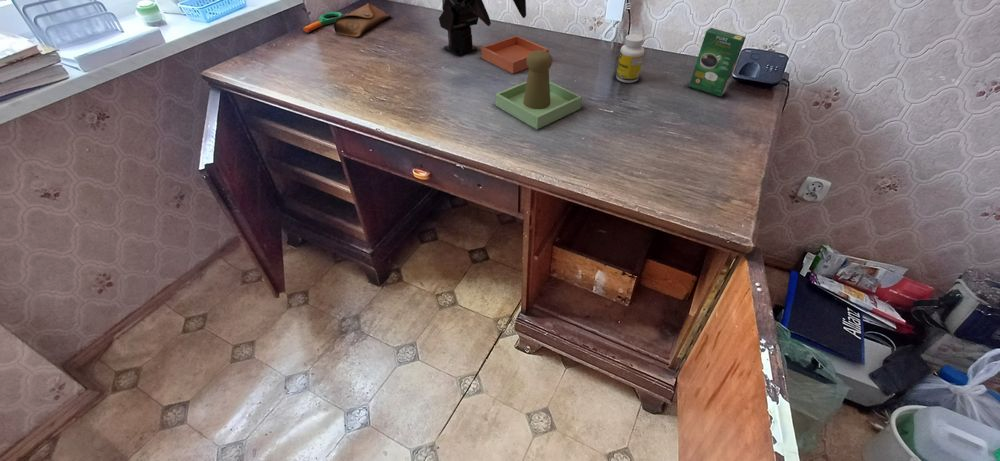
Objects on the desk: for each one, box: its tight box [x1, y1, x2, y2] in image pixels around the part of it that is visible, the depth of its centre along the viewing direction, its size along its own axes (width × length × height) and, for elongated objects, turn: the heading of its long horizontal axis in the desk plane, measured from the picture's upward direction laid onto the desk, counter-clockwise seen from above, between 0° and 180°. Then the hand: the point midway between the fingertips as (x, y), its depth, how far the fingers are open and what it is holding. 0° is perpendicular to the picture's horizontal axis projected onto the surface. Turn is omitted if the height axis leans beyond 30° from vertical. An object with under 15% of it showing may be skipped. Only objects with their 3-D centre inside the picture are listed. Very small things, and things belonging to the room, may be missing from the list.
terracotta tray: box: [480, 35, 550, 74], centre depth 120 cm, size 12×12×3 cm
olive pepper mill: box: [523, 50, 553, 109], centre depth 98 cm, size 6×6×11 cm
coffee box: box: [688, 27, 747, 98], centre depth 103 cm, size 8×3×13 cm, turn 50°
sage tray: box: [495, 80, 583, 130], centre depth 101 cm, size 13×13×3 cm
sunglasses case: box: [333, 1, 392, 38], centre depth 137 cm, size 18×7×7 cm, turn 159°
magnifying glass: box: [302, 11, 343, 33], centre depth 138 cm, size 15×6×2 cm, turn 158°
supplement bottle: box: [615, 33, 645, 84], centre depth 109 cm, size 5×5×10 cm
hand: (507, 20), depth 103 cm, fingers open, 9 cm apart
